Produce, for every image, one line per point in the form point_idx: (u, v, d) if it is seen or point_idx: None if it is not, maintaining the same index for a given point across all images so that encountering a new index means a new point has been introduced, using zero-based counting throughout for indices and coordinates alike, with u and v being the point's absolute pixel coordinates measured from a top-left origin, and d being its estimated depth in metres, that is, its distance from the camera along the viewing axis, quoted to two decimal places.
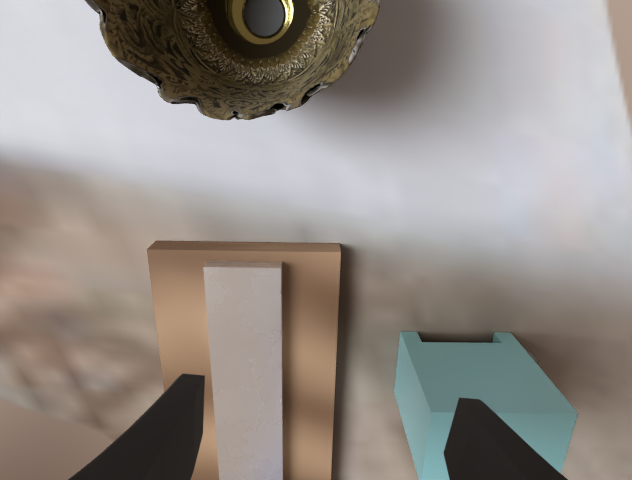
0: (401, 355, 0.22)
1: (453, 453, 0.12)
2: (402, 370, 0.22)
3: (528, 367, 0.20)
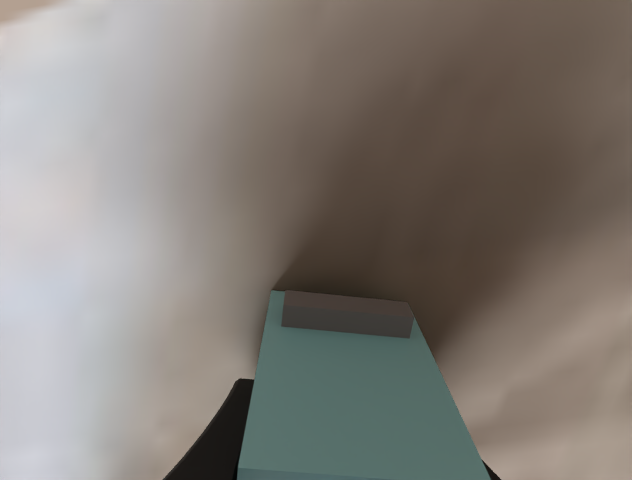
0: None
1: None
2: None
3: None
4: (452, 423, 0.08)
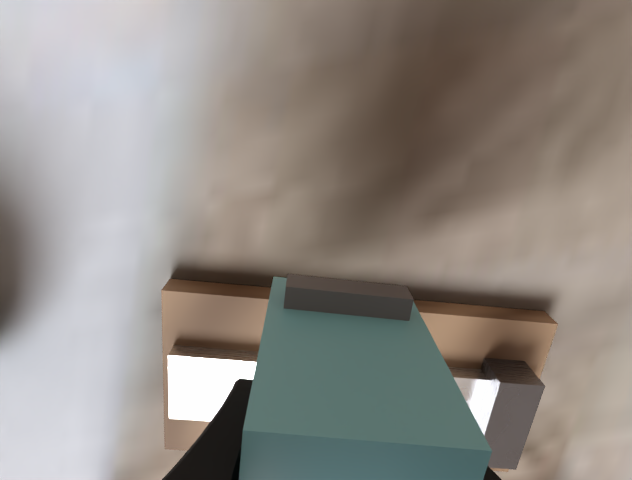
0: None
1: None
2: None
3: None
4: (451, 395, 0.08)
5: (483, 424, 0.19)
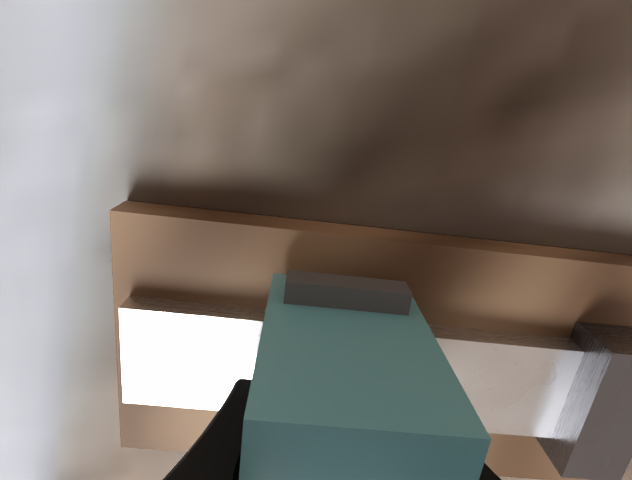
0: None
1: None
2: None
3: None
4: (450, 386, 0.08)
5: (577, 416, 0.13)
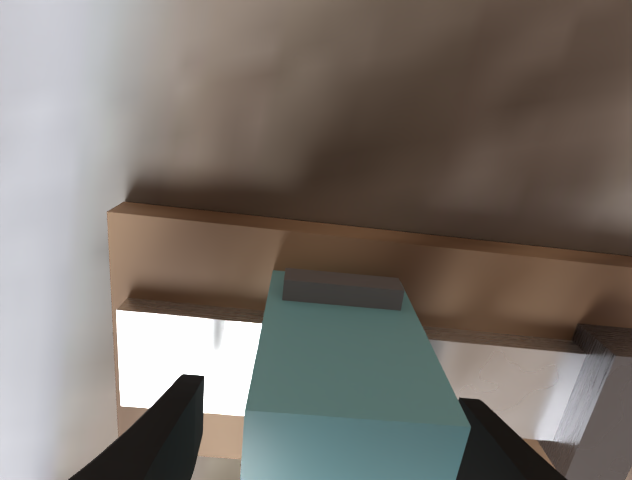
0: None
1: None
2: None
3: None
4: (436, 378, 0.09)
5: (579, 419, 0.13)
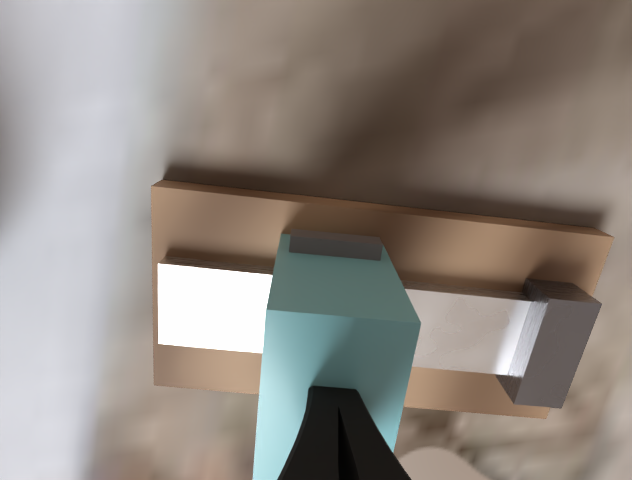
0: None
1: None
2: None
3: None
4: (401, 298, 0.12)
5: (525, 353, 0.16)
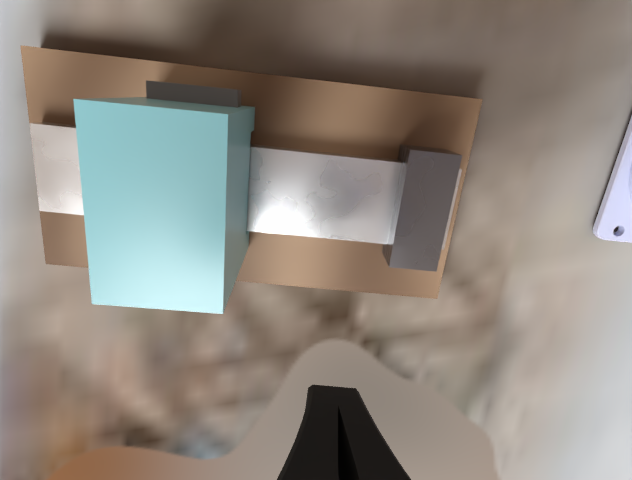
0: None
1: None
2: None
3: None
4: (228, 111, 0.12)
5: (396, 213, 0.17)
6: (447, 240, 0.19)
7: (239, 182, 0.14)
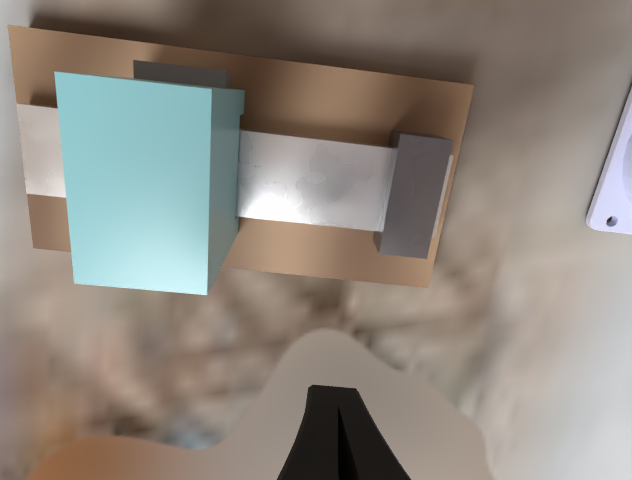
0: None
1: None
2: None
3: None
4: (213, 88, 0.12)
5: (386, 199, 0.17)
6: (438, 228, 0.19)
7: (226, 163, 0.14)
